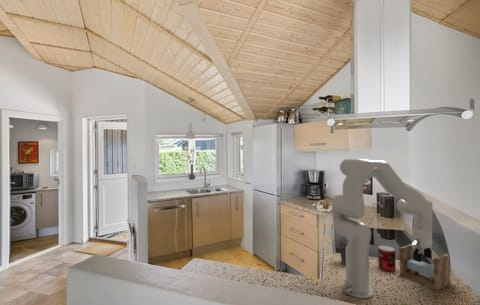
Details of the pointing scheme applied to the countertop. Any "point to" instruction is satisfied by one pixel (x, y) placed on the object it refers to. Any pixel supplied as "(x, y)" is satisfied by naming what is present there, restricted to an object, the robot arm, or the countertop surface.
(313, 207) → the countertop surface
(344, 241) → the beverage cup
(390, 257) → the canned food
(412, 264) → the light blue block
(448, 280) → the peg shelf
